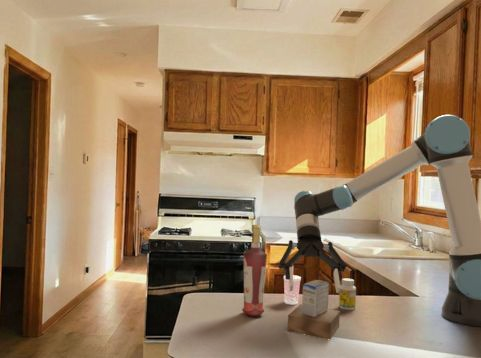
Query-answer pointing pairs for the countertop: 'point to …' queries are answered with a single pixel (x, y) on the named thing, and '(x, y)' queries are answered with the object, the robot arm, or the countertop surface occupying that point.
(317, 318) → the walnut block
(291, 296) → the beverage cup
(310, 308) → the medicine box
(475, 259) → the robot arm
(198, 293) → the countertop surface
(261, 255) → the liquor
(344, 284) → the supplement bottle
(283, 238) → the countertop surface
